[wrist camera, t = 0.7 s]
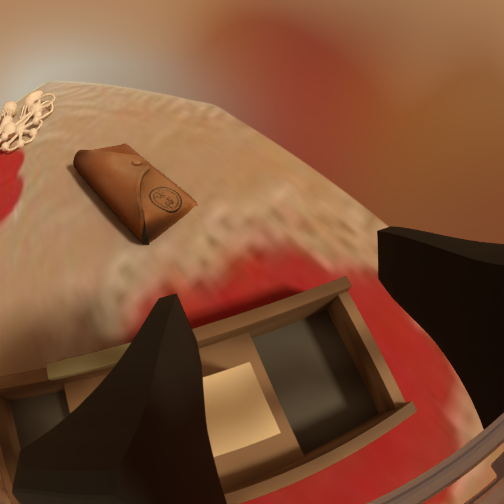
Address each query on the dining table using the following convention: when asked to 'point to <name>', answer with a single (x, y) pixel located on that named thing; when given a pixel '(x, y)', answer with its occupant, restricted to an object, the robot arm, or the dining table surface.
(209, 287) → the dining table surface
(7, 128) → the tangled rod sculpture
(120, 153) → the sunglasses case
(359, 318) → the trap lane
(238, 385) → the birch block
